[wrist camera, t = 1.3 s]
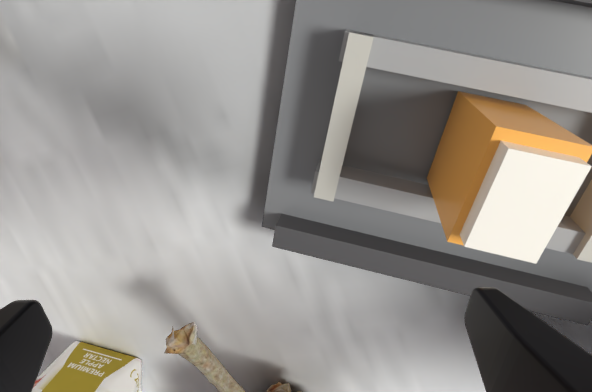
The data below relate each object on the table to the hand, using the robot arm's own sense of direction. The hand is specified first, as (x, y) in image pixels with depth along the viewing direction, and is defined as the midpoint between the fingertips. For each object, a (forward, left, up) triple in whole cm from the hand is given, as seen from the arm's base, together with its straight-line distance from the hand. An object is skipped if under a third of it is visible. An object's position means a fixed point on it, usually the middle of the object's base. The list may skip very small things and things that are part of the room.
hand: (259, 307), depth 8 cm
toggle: (-7, -1, -13) cm, 14 cm away
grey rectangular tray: (-7, -1, -14) cm, 16 cm away
